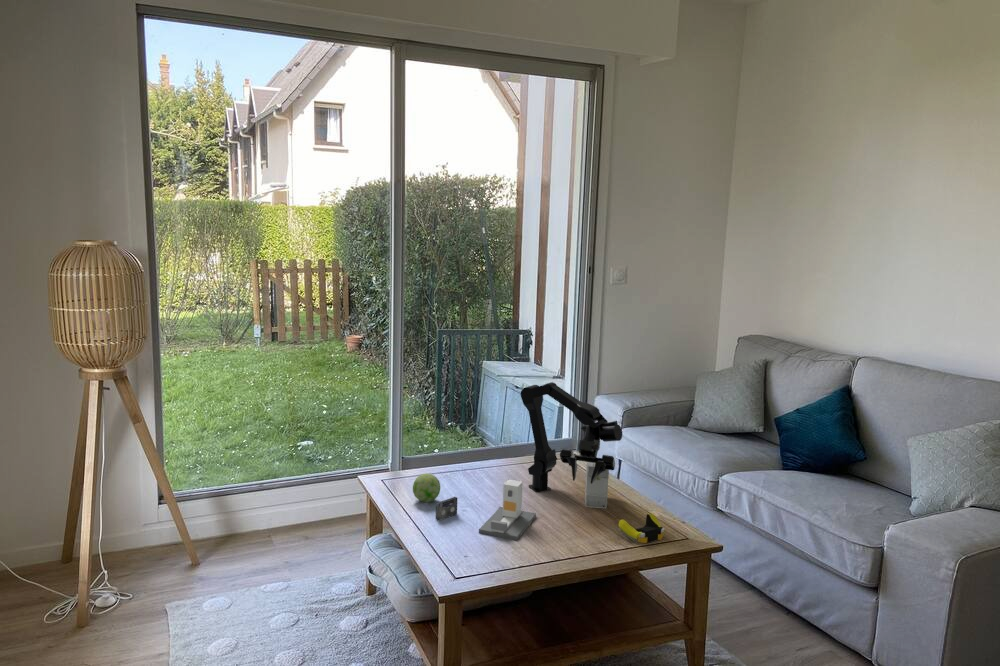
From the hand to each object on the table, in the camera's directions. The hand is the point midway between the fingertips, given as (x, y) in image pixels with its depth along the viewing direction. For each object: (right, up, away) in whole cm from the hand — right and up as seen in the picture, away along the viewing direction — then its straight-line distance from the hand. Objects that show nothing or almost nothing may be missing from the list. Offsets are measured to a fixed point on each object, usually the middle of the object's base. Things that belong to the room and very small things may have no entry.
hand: (582, 481), depth 245 cm
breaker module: (-24, -11, -4) cm, 27 cm away
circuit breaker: (+7, -11, +17) cm, 21 cm away
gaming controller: (+18, -16, -12) cm, 27 cm away
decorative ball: (-54, -9, +11) cm, 56 cm away
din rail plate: (-25, -13, -6) cm, 29 cm away
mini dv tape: (-46, -12, -2) cm, 48 cm away
